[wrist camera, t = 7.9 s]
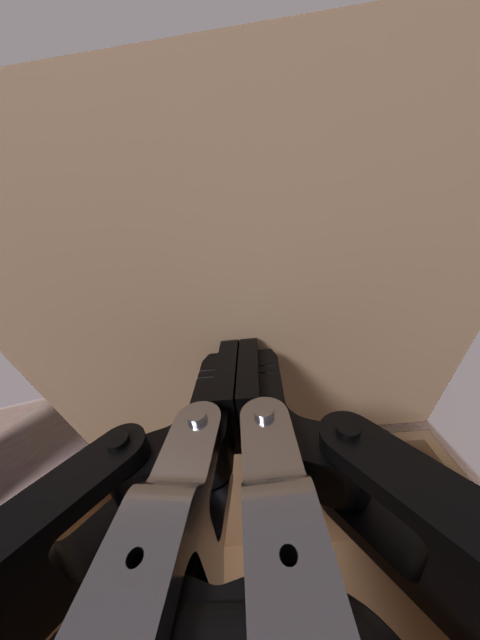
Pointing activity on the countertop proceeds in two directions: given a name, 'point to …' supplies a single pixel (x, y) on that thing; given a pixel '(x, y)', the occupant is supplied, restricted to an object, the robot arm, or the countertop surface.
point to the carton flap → (247, 213)
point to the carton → (339, 554)
